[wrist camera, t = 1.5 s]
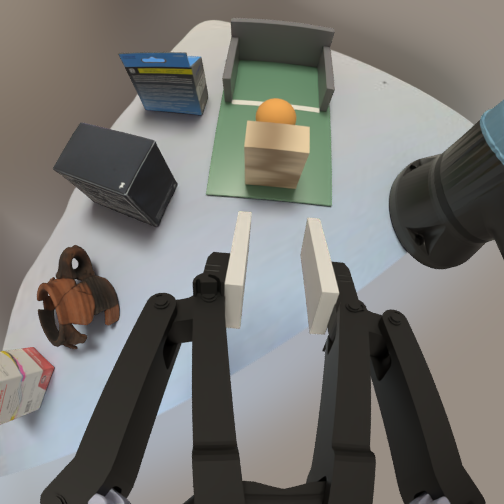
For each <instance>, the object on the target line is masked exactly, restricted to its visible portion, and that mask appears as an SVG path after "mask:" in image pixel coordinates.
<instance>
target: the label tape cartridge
mask: <svg viewBox="0 0 504 504" xmlns="http://www.w3.org/2000/svg"><path fill="white" fill-rule="evenodd" d="M118 55H119V56H120V59H121V60H122V63H123V64H124V66H125V69H126V71H127V73H128V75H129V76H130V79H131V81H132V83H133V85H134V87H135V89H136V91H137V93H138V95H139V97H140V99H141V101H142V104H143V105H144V108H145V109H146V110H154V111H166V112H177V113H186V114H195V115H202V114H203V111H204V108H205V105H206V102H207V99H208V91H207V85H206V79H205V74H204V69H203V63H202V58H201V57H196V56H187V53H175V52H137V53H119V54H118Z"/></svg>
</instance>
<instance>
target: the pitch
mask: <svg viewBox="0 0 504 504" xmlns="http://www.w3.org/2000/svg"><path fill="white" fill-rule="evenodd" d="M231 35H232V37H231V41H230V46H229V50H228V55H227V59H226V64H225V69H224V73H223V78H222V79H223V89H224V90H223V95H222V100H221V106H220V111H219V117H218V122H217V128H216V134H215V140H214V146H213V152H212V158H211V164H210V171H209V177H208V184H207V191H206V195H214V196H228V197H241V198H253V199H264V200H275V201H285V202H295V203H305V204H314V205H322V206H332V166H331V129H330V108H329V103H330V101H331V98H332V95H333V93H334V90H335V89H334V77H333V67H332V58H331V49H330V46H331V43H332V39H333V36H334V29H333V28H328V27H322V26H316V25H310V24H303V23H295V22H287V21H278V20H266V19H249V18H232V19H231ZM273 98H278V99H283V100H285V101H287V102H288V103H290V104H291V105H292V107H293V108H294V110H295V113H296V124H295V125H298V126H306V127H310V153H309V156H308V158H307V161H306V163H305V166H304V169H303V171H302V174H301V176H300V179H299V182H298V184H297V187H296V189H291V188H281V187H271V186H260V185H248V184H245V157H244V145H245V136H246V128H247V121H256V112H257V109H258V108H259V106H260V105H261V104H262V103H263V102H265V101H266V100H269V99H273Z"/></svg>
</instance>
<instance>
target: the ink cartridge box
mask: <svg viewBox="0 0 504 504" xmlns="http://www.w3.org/2000/svg"><path fill="white" fill-rule="evenodd" d="M53 370H54V367H53V366H52V365H51V364H50V363H49V362H48V361H47V360H46V359H45V358H44V357H43V356H42V355H41V354H40V353H39V352H38V351H37V350H36V349H35V348H34V347H30V348H23V349H15V350H8V351H0V425H1V424H3V423H6V422H9V421H11V420H14V419H16V418H19V417H21V416H23V415H26V414H28V413H31V412H33V411H36V410H38V409H39V408H40V405H41V403H42V400H43V397H44V394H45V391H46V388H47V386H48V383H49V380H50V378H51V375H52V372H53Z"/></svg>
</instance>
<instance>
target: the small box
mask: <svg viewBox="0 0 504 504" xmlns="http://www.w3.org/2000/svg"><path fill="white" fill-rule="evenodd" d="M53 169H54V170H55V171H56V172H58V173H59V174H61V175H62V176H63V177H64V178H66V179H67V180H68V181H70V182H71V183H72V184H73V185H74V186H76V187H77V188H78V189H79V190H80V191H82V192H83V193H84V194H85V195H87V196H88V197H89V198H90V199H91V200H92V201H93V202H96V203H98V204H100V205H103V206H105V207H108V208H110V209H112V210H115V211H117V212H120V213H122V214H125V215H127V216H129V217H132V218H135V219H137V220H140V221H142V222H145V223H147V224H150V225H153V226H155V227H157V226H158V225H159V223H160V221H161V217H162V216H163V213H164V211H165V209H166V207H167V205H168V203H169V201H170V199H171V197H172V196H173V193H174V191H175V188H176V186H177V182H176V180H175V179H174V177H173V175H172V173H171V171H170V169H169V168H168V166H167V164H166V162H165V160H164V158H163V156H162V154H161V152H160V150H159V148H158V146H157V144H156V142H155V141H154V140H151V139H147V138H143V137H139V136H135V135H132V134H128V133H124V132H119V131H115V130H111V129H107V128H103V127H98V126H94V125H90V124H85V123H80V124H79V126H78V127H77V129H76V130H75V132H74V133H73V135H72V137H71V138H70V140H69V141H68V143H67V145H66V147H65V148H64V150H63V152H62V153H61V155H60V157H59V159H58V161H57V162H56V164H55V166H54V167H53Z"/></svg>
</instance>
